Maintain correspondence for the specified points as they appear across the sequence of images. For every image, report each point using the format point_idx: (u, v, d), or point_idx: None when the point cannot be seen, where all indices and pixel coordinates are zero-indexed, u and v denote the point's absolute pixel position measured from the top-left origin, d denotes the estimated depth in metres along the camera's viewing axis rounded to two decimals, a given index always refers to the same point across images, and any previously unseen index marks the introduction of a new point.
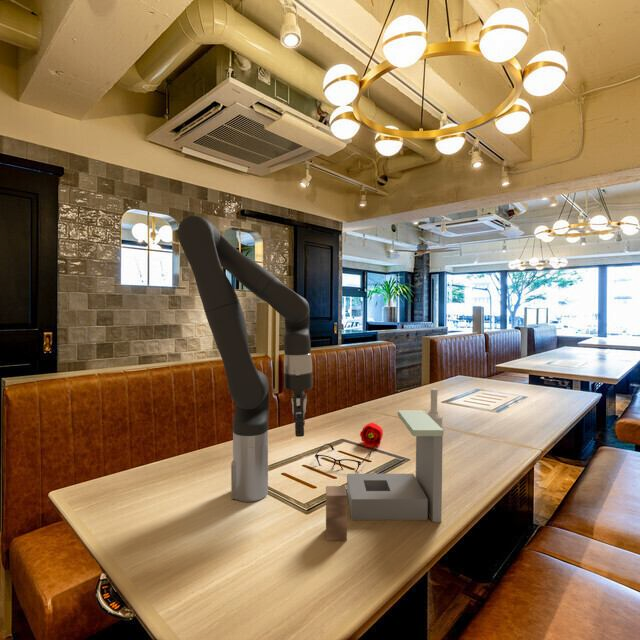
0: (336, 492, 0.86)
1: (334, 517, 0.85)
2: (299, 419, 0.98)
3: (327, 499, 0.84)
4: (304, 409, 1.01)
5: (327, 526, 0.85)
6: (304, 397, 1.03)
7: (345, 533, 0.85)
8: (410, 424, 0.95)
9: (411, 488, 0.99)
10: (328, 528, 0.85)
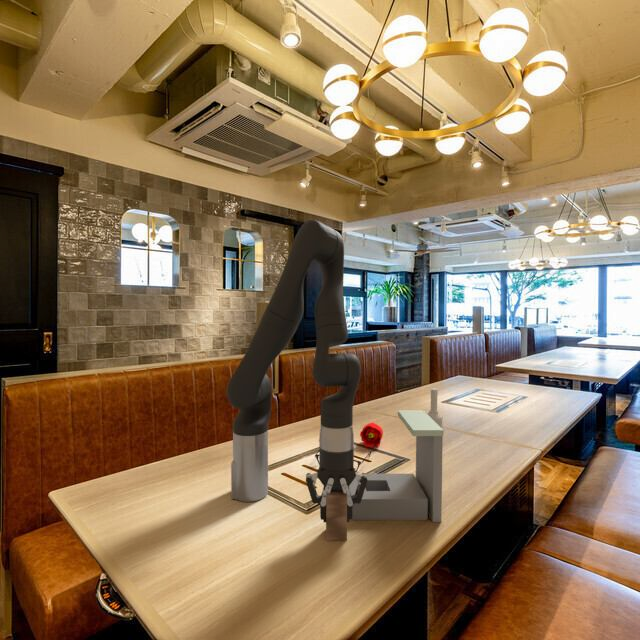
0: (336, 492, 0.86)
1: (334, 517, 0.85)
2: None
3: (327, 499, 0.84)
4: (348, 486, 0.88)
5: (327, 526, 0.85)
6: None
7: (345, 533, 0.85)
8: (410, 424, 0.95)
9: (411, 488, 0.99)
10: (328, 528, 0.85)
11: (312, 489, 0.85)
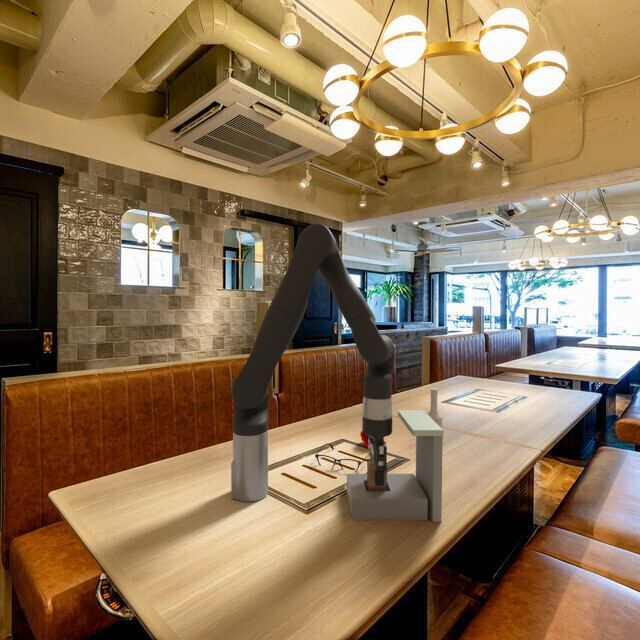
0: (380, 462, 1.00)
1: None
2: None
3: None
4: None
5: None
6: None
7: None
8: (410, 424, 0.95)
9: (411, 488, 0.99)
10: None
11: None
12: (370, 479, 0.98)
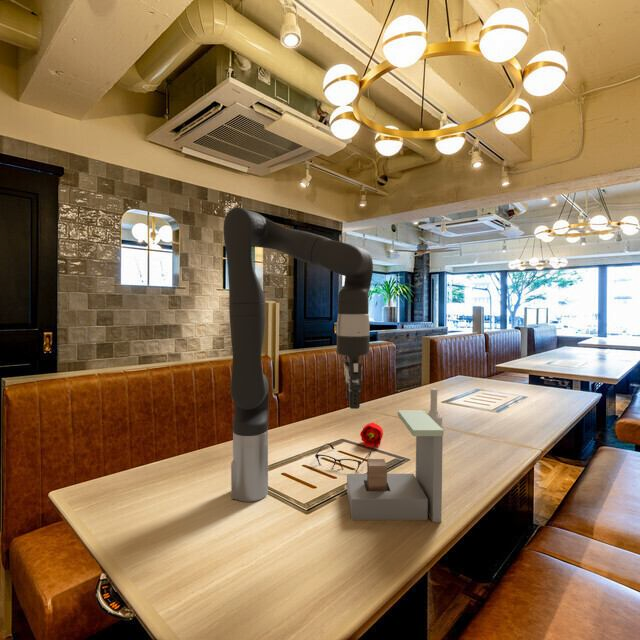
0: (380, 462, 1.00)
1: None
2: None
3: (386, 469, 0.98)
4: None
5: None
6: None
7: None
8: (410, 424, 0.95)
9: (411, 488, 0.99)
10: None
11: None
12: (370, 479, 0.98)
